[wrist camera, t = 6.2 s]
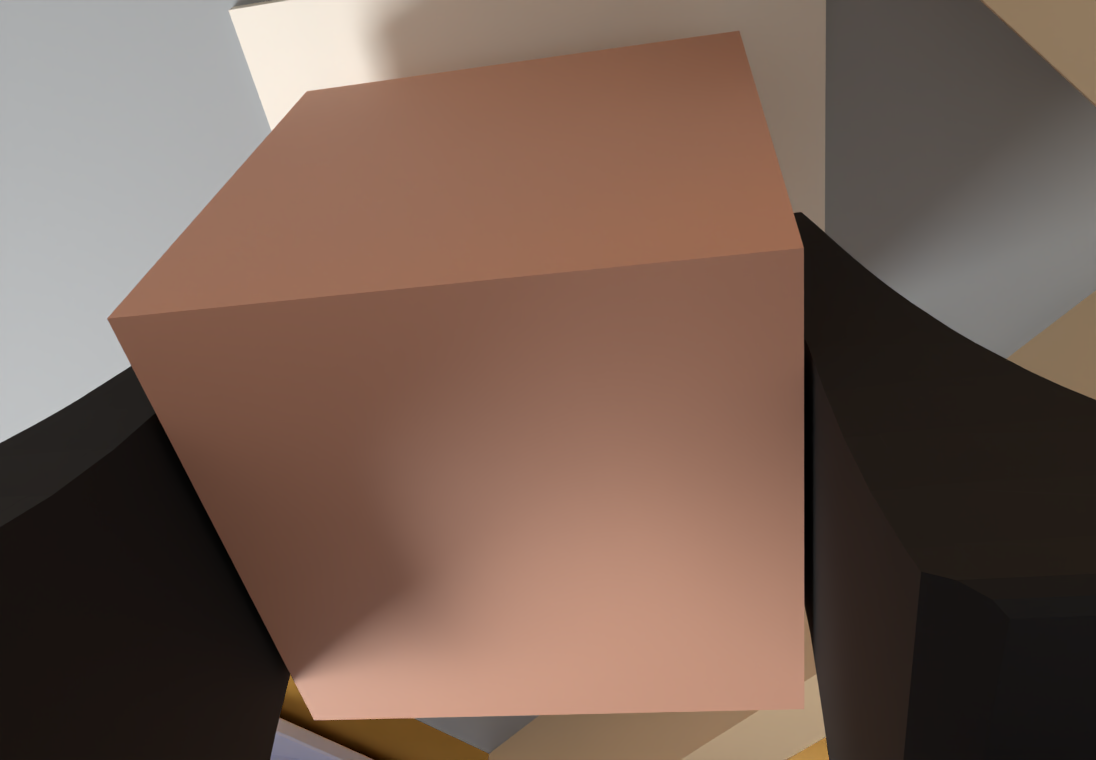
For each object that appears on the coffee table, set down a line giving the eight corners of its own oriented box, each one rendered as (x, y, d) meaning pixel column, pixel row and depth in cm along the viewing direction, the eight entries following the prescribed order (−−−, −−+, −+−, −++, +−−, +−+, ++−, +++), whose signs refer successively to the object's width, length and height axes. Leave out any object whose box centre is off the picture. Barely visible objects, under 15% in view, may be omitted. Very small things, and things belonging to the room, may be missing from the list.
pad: (822, 408, 14) (824, 415, 14) (386, 442, 15) (385, 449, 15) (823, -92, 10) (826, -90, 10) (233, 6, 11) (227, 10, 11)
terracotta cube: (753, 395, 13) (805, 708, 9) (410, 422, 14) (314, 720, 10) (739, 30, 10) (803, 247, 6) (307, 91, 11) (106, 319, 7)
